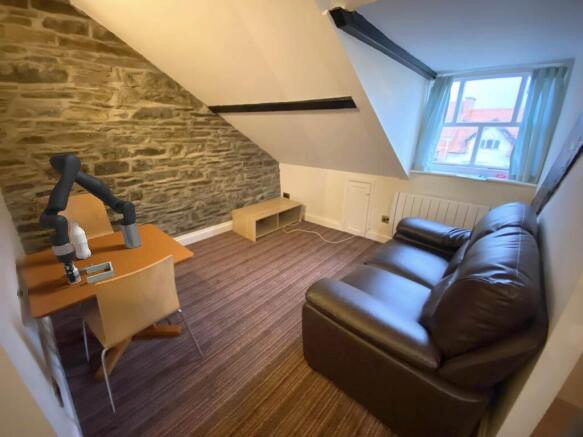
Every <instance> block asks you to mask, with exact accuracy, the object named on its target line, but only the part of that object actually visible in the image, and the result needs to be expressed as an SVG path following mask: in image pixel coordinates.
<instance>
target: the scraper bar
mask: <svg viewBox="0 0 583 437" xmlns="http://www.w3.org/2000/svg"><path fill="white" fill-rule="evenodd" d="M92 266H95V265H94V263H93V262H91V264H90V266H86V267H81V268H77V269H78V272H79V275H81V274H85V273H87V271H86V268H88V267H92ZM64 276H65V277H64V278H66V275H65V274H64Z"/></svg>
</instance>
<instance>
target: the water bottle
mask: <svg viewBox="0 0 583 437" xmlns="http://www.w3.org/2000/svg"><path fill="white" fill-rule="evenodd" d="M69 223H70V227H71V228H70V231H69V238H70V241H71V244H72V246H73V248H74V250H75V255H76V258H78V259H79V260H82V259H83V260H86V259H87V258H90V257H91V256H92V252H91V250H90V248H89V246H88V239H87V237H86V233H85V231H84V229H82V227H80V226H79V223H78V222H77V220H71V221H69Z"/></svg>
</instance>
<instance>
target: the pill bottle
mask: <svg viewBox="0 0 583 437" xmlns="http://www.w3.org/2000/svg"><path fill="white" fill-rule="evenodd" d="M73 266H74V275H75V278H76V281H74V282H70V279H69V277H67V274H66V272H65V271H64V276H65V275H66V277H65V278H66V280H67V283H68V284H69V285H75V284H77V283H79V282H81V281H82V278H81V274H79V272H78V269H79V268H77V267H76V266H75V264H74V265H73ZM71 273H72V272H69V274H71Z"/></svg>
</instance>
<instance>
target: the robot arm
mask: <svg viewBox="0 0 583 437" xmlns="http://www.w3.org/2000/svg"><path fill="white" fill-rule="evenodd" d="M49 164H50V167H51V168H52V169H54V170H55V171H56V172H57V173H60V174H61V176H60V178H59V180H58V181H57V183H56V184H55V185H54V186H53V187H52V189H51V191H50V193H49V195H48V196H49V197H48V201H47V205H46V206H45V208H44V209H43V211H42V213H41V215H40V216H39V219H38V224H39V227H40V228H42V229H45V230H55V231H54V232H52V233H51V234H50V235H49V236H48V237H49V241H50V244H51V247H52V248H51V249H52V251H53V254H54V256H55V259H56V261H57V263H62V265H63V268H64V273H65V272H66V274H67V277H69V279H70V282H74V281H76V278H75V275H74V266H75V262H74V259H76V258H77V256H76V251H75V248H74V245H73V244H72V241H71V238H70V235H69V220H68V218H66V216H64V215H63V214H59V213H60V212H64V211H66V210H67V207H68V202H69V197H70V194H71V191H72V188H73V185H74V183H75V184H77V185H78V186H80V187H82V188H83V189H84V190H86V191H87V192H88V193H90V194H91V195H92V196H94V197H96V198H97V199H99V201H101V202H102V203H104V204H105V205H107V206H108V207H109V208H110V209H111V211H112V212H115V213H116V214H118V215H119V214H120V215H122V216H123V218H121V219H120V220H119V225H120V230H121V234H122V237H123V242H124V246H125V248H127V249H136V248H138V247H141V246H142V242H141V237H140V233H139V230H138V224H137V222H136V221H137V213H136V206H135V205H134V203H133V202H132V201H130V200H124V199H123V200H122V199H119V198H118V197H116V196H115V195H114V194H113V193H112V190H111V188H110V186H108V185H107V184H106V183H105V182H103V180H101V179H99V178H98V177H96V176H93V175H91V174H89V173H86V172H84V171H82V170H80V169H81V166H82V161H81V160H80V158H79V156H77V155H76V154H72V153H61V154H54V155H52V156H51V157H50V158H49ZM73 265H74V266H73ZM69 272H72V273H71V274H69Z"/></svg>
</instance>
